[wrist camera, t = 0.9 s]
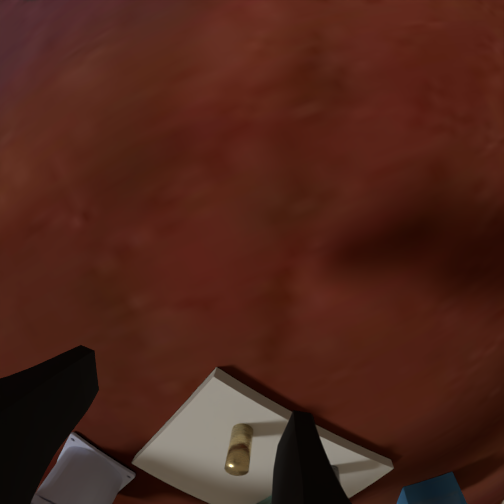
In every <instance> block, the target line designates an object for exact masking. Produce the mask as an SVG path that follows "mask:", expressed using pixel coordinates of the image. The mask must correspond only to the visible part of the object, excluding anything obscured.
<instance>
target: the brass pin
mask: <svg viewBox="0 0 504 504" xmlns="http://www.w3.org/2000/svg"><path fill="white" fill-rule="evenodd" d="M252 440H253V428H252V427H251V426H250V425H248V424H244V423H239V424H236V425H234V426H233V428H232V432H231V437H230V442H229V447H228V452H227V457H226V462H225V467H224V469H225V471H226V472H227V473H229V474H231V475H234V476H243V475H246V474H247V473H248V472H249V465H250V457H251V448H252Z"/></svg>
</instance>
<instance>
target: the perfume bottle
mask: <svg viewBox="0 0 504 504" xmlns="http://www.w3.org/2000/svg"><path fill="white" fill-rule="evenodd" d="M397 504H467V503H466V501H465V498H464V496H463V494H462V492H461V489H460V487H459V485H458V483H457V481H456V479H455V477H454V474H453V472H450V473H447V474H444V475H441V476H438V477H435V478H432V479H429V480H426V481H423V482H419V483H416V484H412V485H409V486H405V487H403V488H402V491H401V494H400V496H399V499H398V501H397Z"/></svg>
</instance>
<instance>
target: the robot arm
mask: <svg viewBox="0 0 504 504" xmlns="http://www.w3.org/2000/svg"><path fill="white" fill-rule="evenodd" d="M98 390H99V387H98V379H97V371H96V362H95V351H94V350H91V349H89V348H87V347H85V346H82V345H80V346H78V347H75V348H73V349H71V350H69V351H67V352H64V353H62V354H60V355H58V356H56V357H54V358H52V359H49V360H47V361H45V362H43V363H40V364H38V365H36V366H34V367H31V368H28V369H26V370H23V371H21V372H18V373H15V374H13V375H10V376H7V377H4V378H1V379H0V504H112V503H113V501H114V499H115V497H116V495H117V493H118V492H119V491H120V490H121V489H122V488H123V487H124V486H126V485H127V484H128V483H129V482H130V481H131V480H133V479H134V478H135V476H136V474H135V473H134V472H133V471H131V470H129V469H128V468H126V467H124V466H123V465H121V464H120V463H118V462H116V461H115V460H113V459H112V458H110V457H109V456H107V455H106V454H104V453H103V452H101V451H100V450H98V449H97V448H95V447H94V446H92V445H91V444H90V443H88V442H87V441H85V440H84V439H83V438H81V437H80V436H79V435H77V434H76V433H74V432H72V433H71V431H72V430H73V429H74V428H75V426H76V425H77V424H78V422H79V421H80V420H81V418H82V417H83V416H84V414H85V413H86V412H87V410H88V408H89V407H90V405H91V403H92V402H93V400H94V398H95V396H96V394H97V392H98ZM70 433H71V434H70ZM69 434H70V436H69V438H68V440H67V442H66V444H65V446H64V448H63V450H62V452H61V454H60V456H59V458H58V460H57V463H56V465H55V466H54V468H53V469H52V470H51V472H50V473H49V475H48V476H47V477H46V479H45V480H44V482H43V483H42V485H41V486H40V487H39V489H38V490H37V492H36V489H37V487H38V485H39V483H40V481H41V479H42V477H43V475H44V473H45V471H46V469H47V467H48V465H49V463H50V462H51V460H52V458H53V456H54V455H55V453H56V452H57V450H58V449H59V447H60V446H61V445H62V443H63V442H64V441H65V439H66V438H67V437H68V435H69ZM35 492H36V493H35ZM271 504H352V503H351V502H350V500H349V498H348V497H347V495H346V493H345V492H344V490H343V488H342V486H341V484H340V482H339V480H338V478H337V477H336V474H335V472H334V470H333V468H332V466H331V464H330V461H329V459H328V457H327V454H326V452H325V450H324V447H323V444H322V442H321V439H320V436H319V434H318V431H317V428H316V425H315V422H314V418H313V416H312V414H311V413H306V412H300V411H295V410H293V412H292V414H291V417H290V419H289V421H288V423H287V426H286V428H285V430H284V432H283V434H282V436H281V439H280V441H279V443H278V445H277V451H276V457H275V462H274V468H273V483H272V501H271Z"/></svg>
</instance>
